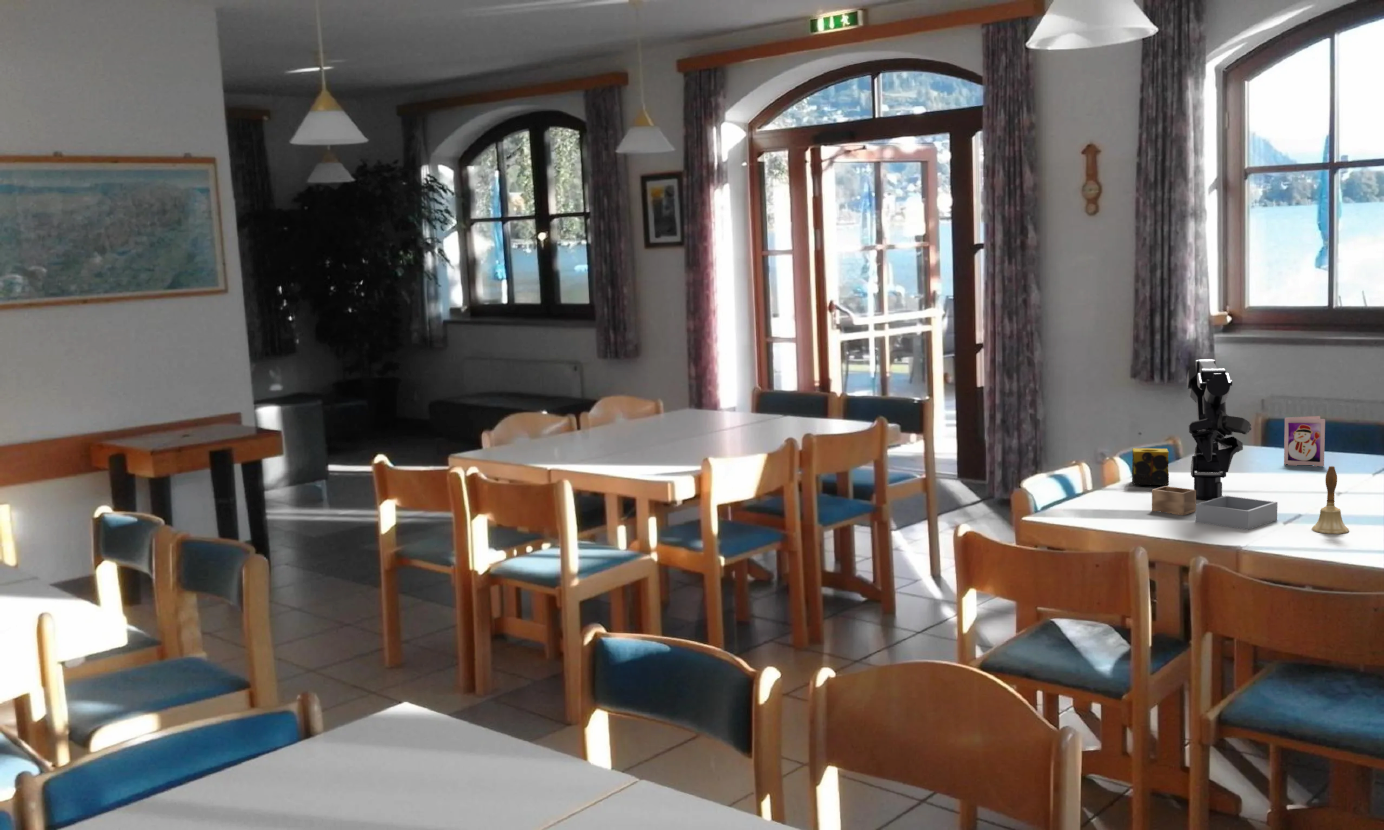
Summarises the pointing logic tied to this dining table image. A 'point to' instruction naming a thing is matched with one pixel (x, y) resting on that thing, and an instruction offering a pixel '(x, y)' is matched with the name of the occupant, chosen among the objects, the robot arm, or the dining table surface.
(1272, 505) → the grey crate
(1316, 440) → the greeting card
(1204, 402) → the robot arm
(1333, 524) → the hand bell
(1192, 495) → the walnut crate
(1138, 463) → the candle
